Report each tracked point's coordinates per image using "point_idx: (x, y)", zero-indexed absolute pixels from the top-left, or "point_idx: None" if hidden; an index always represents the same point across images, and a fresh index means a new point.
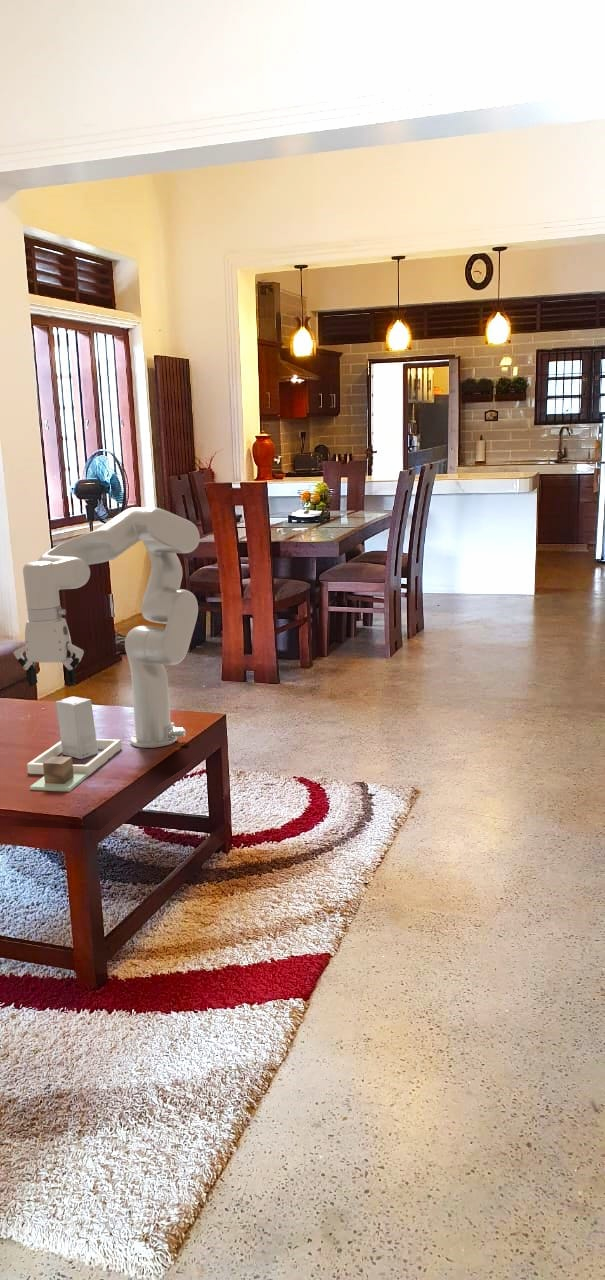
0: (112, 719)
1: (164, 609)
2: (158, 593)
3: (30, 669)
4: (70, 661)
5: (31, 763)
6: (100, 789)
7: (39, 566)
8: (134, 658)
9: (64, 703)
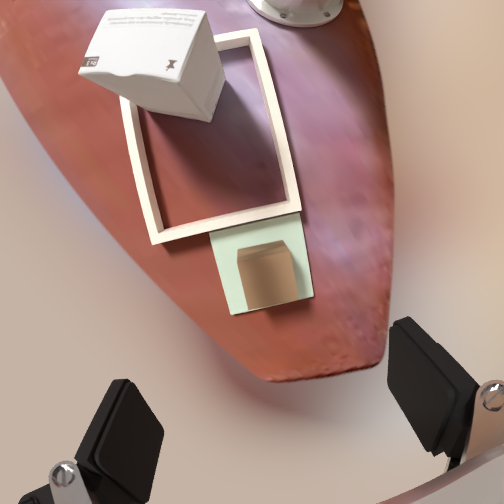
0: None
1: None
2: None
3: (131, 500)
4: (489, 447)
5: (158, 238)
6: (361, 264)
7: None
8: None
9: (121, 75)
